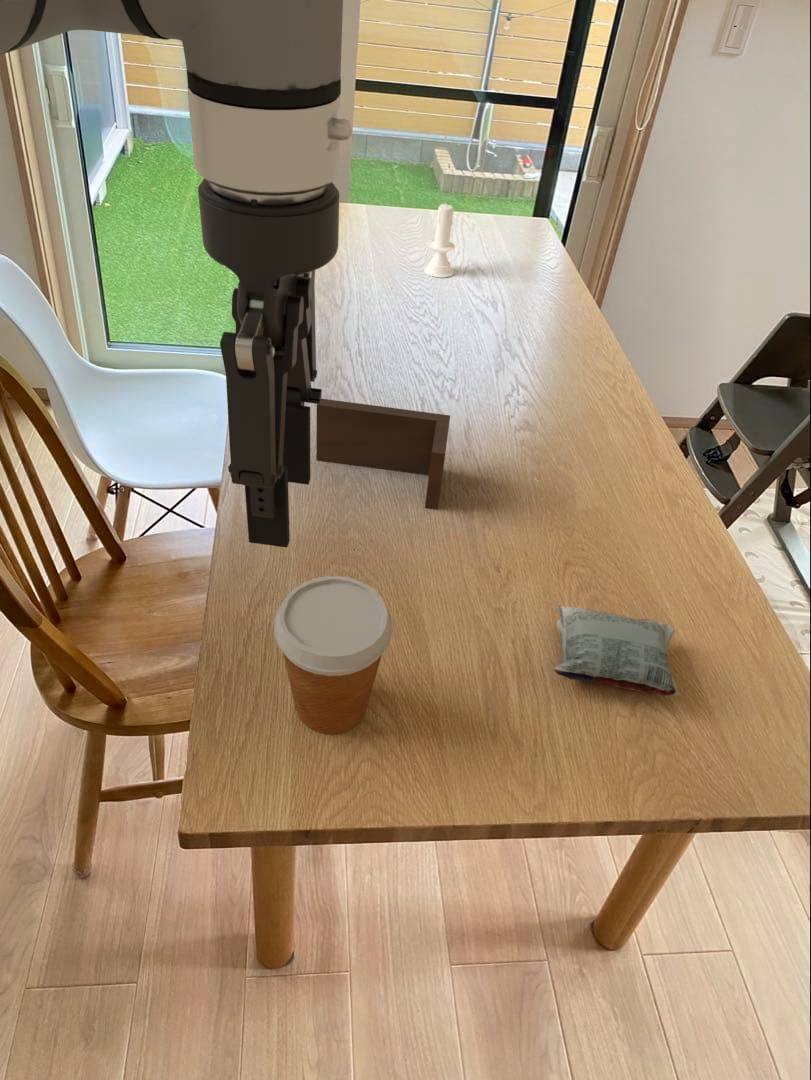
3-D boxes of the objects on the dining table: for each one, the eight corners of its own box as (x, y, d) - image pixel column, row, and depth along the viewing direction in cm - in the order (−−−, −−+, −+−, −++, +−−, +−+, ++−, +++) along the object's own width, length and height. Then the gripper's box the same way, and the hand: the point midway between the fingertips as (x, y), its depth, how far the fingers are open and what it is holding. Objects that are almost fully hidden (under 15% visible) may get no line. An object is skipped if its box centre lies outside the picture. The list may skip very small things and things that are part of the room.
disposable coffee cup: (256, 698, 70) (249, 606, 62) (340, 646, 75) (343, 556, 67) (322, 771, 65) (323, 682, 57) (406, 710, 70) (418, 621, 62)
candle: (418, 267, 141) (425, 198, 133) (445, 264, 143) (453, 196, 135) (432, 279, 138) (439, 210, 130) (458, 276, 140) (467, 207, 131)
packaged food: (551, 619, 80) (561, 586, 76) (668, 640, 79) (684, 608, 76) (547, 688, 73) (559, 655, 70) (675, 711, 73) (692, 679, 69)
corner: (437, 509, 91) (445, 454, 86) (305, 491, 92) (305, 435, 86) (442, 469, 97) (450, 415, 92) (318, 453, 98) (319, 398, 92)
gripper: (299, 260, 34) (303, 613, 50) (366, 136, 49) (353, 440, 64) (132, 239, 35) (188, 597, 50) (248, 122, 49) (263, 428, 65)
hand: (281, 508), depth 57 cm, fingers open, 6 cm apart
